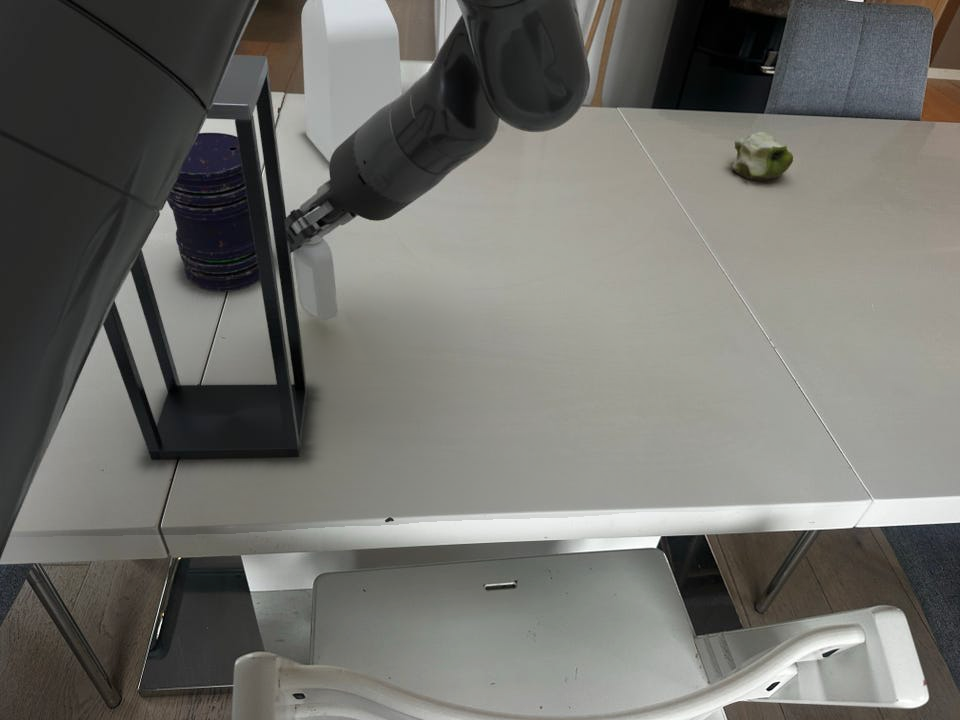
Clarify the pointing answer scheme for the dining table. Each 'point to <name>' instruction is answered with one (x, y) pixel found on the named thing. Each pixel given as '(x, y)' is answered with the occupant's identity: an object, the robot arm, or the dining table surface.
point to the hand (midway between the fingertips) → (297, 235)
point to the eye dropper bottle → (316, 279)
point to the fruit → (761, 157)
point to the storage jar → (214, 216)
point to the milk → (347, 67)
